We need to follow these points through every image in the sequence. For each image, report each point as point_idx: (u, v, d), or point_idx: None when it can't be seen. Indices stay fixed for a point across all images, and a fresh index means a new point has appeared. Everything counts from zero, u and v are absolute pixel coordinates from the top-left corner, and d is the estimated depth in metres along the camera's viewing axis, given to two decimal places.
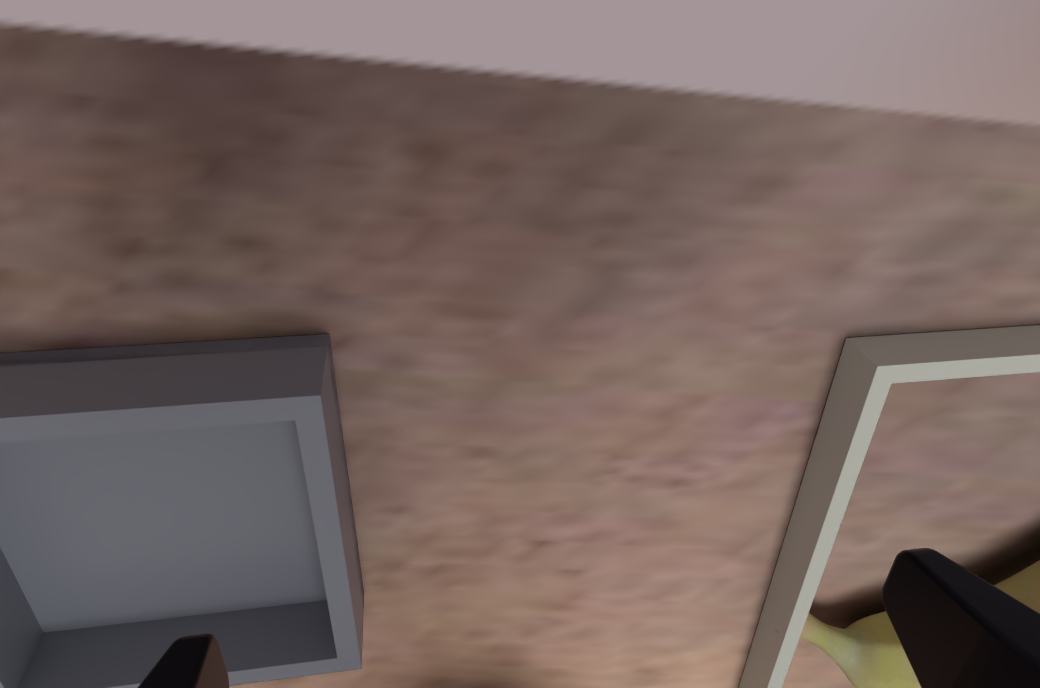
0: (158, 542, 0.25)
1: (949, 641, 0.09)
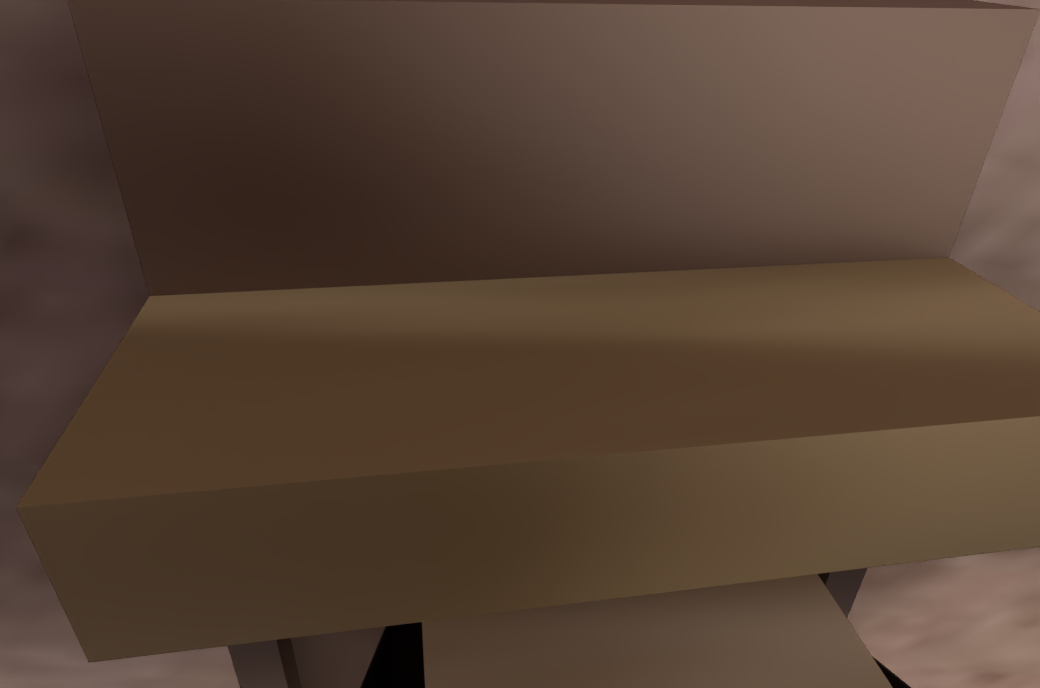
0: None
1: None
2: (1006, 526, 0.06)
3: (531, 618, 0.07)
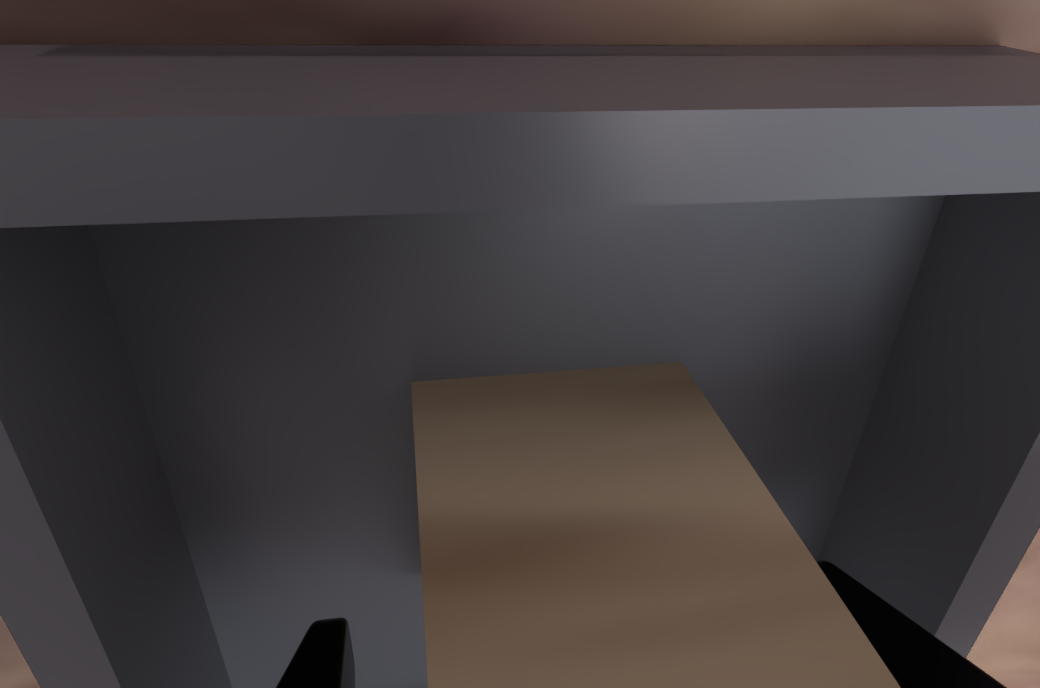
0: None
1: None
2: None
3: (510, 502, 0.08)
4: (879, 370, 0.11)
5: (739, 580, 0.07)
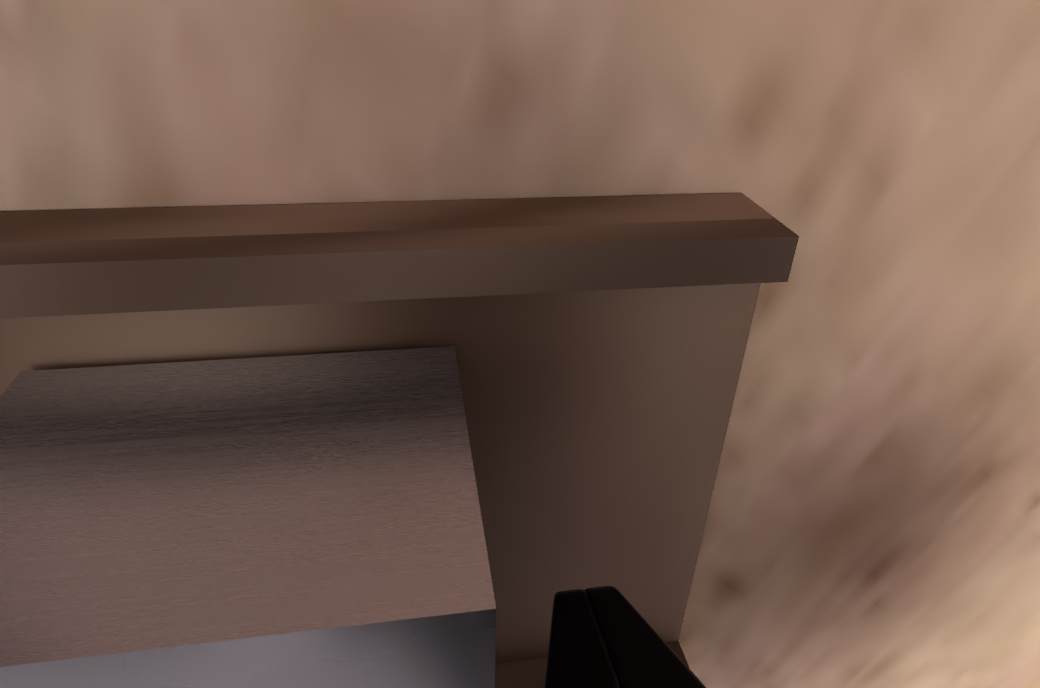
0: None
1: None
2: None
3: None
4: None
5: None
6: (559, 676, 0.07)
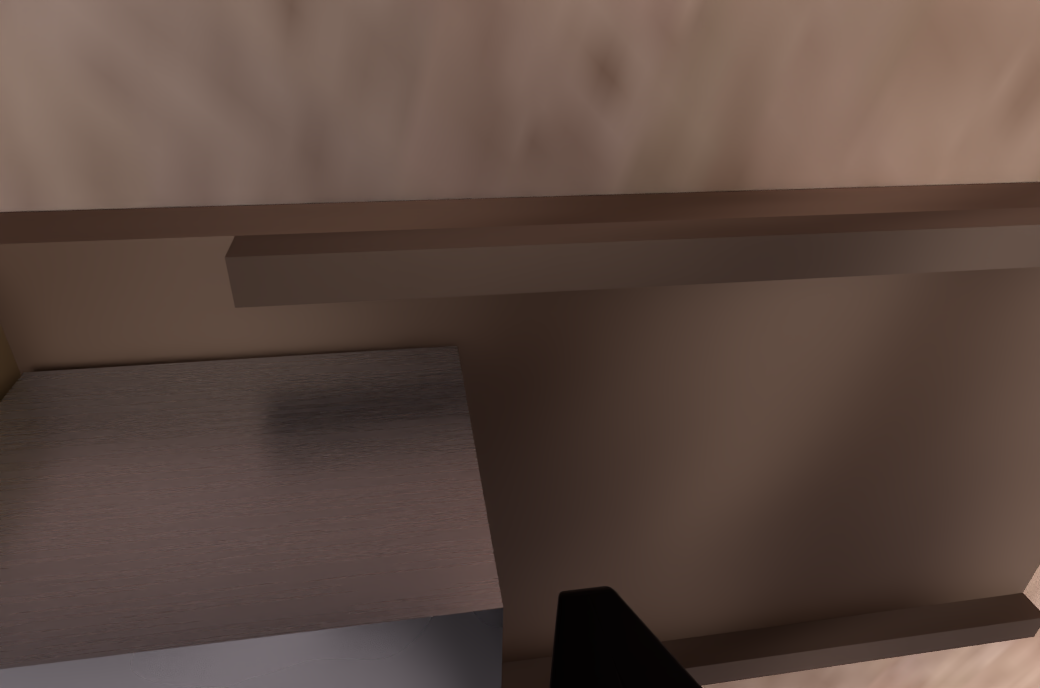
0: None
1: None
2: None
3: None
4: None
5: None
6: (564, 675, 0.07)
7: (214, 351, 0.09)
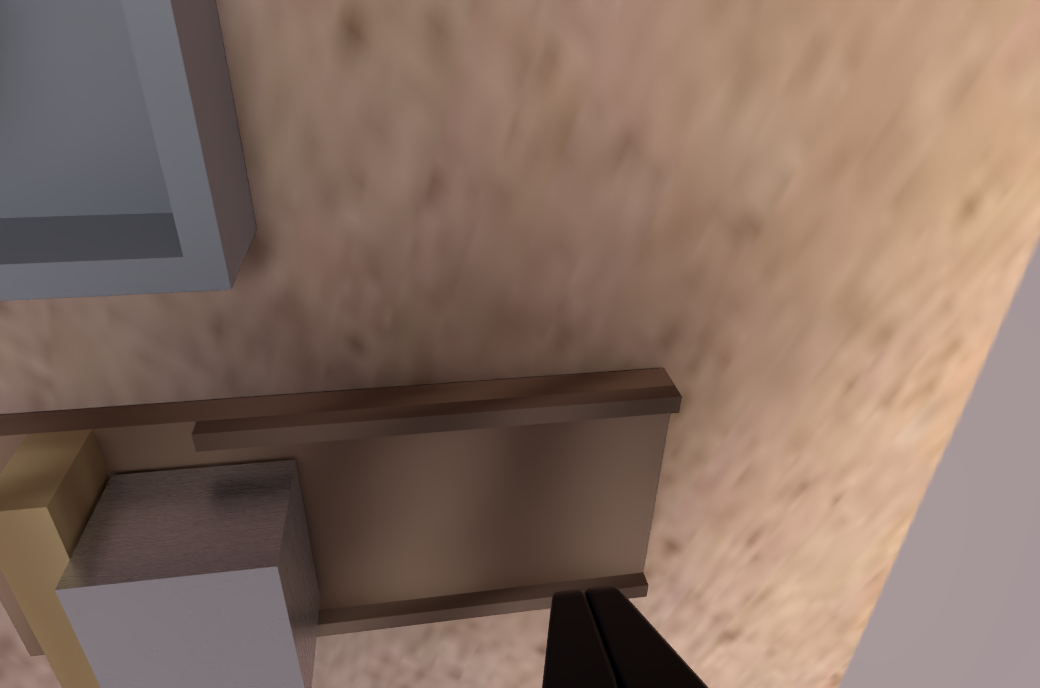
0: None
1: None
2: (48, 544, 0.17)
3: None
4: None
5: None
6: (557, 676, 0.07)
7: (189, 463, 0.20)
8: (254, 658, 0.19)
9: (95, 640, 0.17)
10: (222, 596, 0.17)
